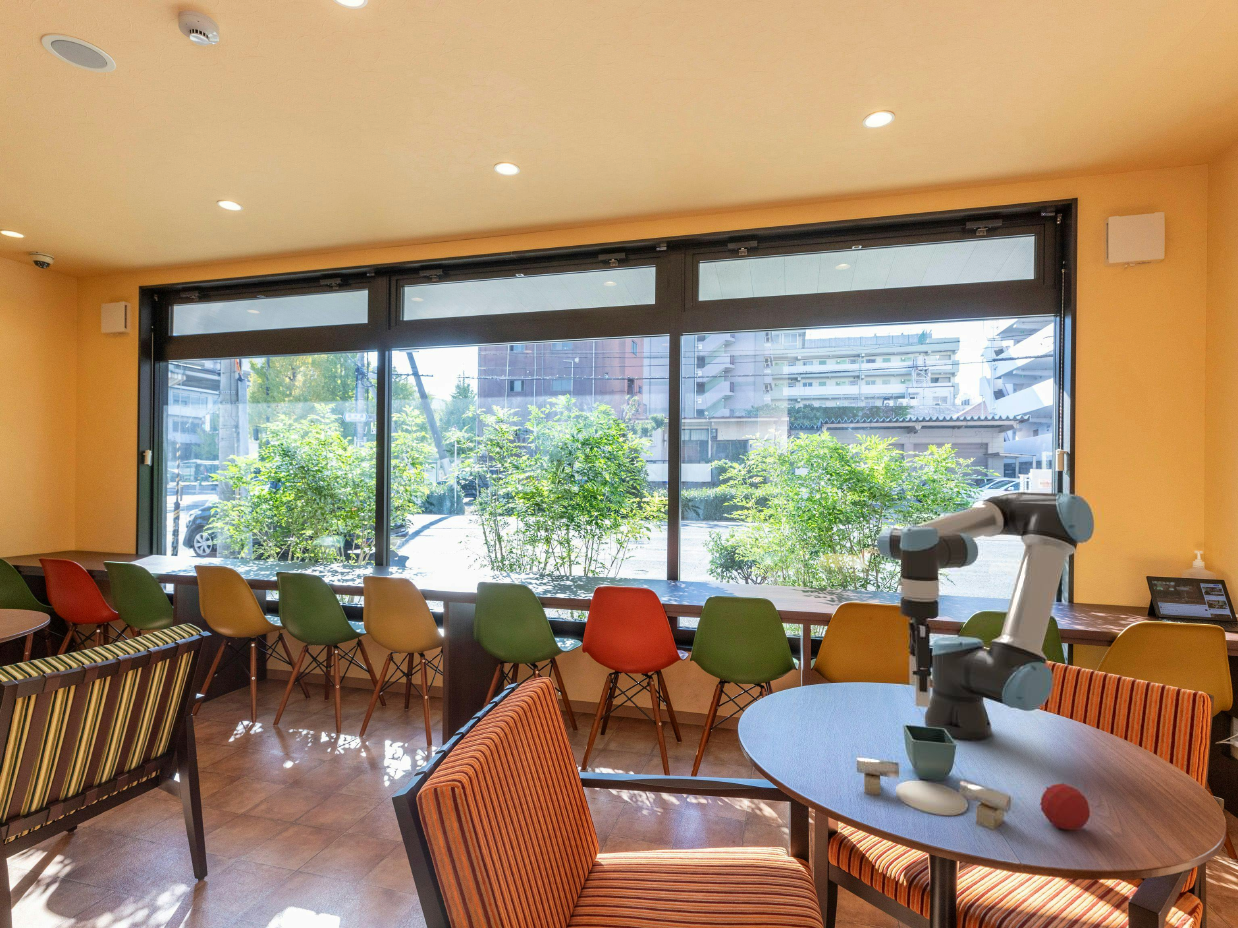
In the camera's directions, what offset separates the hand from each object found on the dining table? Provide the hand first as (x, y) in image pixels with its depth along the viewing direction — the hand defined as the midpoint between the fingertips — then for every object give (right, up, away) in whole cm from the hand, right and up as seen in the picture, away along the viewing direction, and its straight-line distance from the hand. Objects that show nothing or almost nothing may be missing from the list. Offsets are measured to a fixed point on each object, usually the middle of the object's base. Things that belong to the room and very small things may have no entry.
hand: (919, 695), depth 140 cm
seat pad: (-3, -17, -11) cm, 20 cm away
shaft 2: (+4, -17, -18) cm, 25 cm away
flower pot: (+2, -17, -1) cm, 17 cm away
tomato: (+17, -17, -20) cm, 32 cm away
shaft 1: (-12, -17, -7) cm, 22 cm away
